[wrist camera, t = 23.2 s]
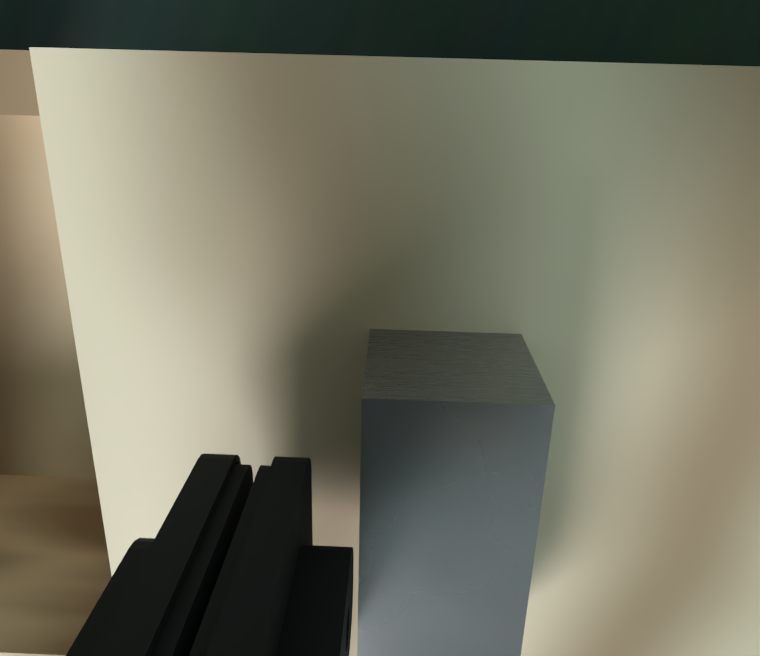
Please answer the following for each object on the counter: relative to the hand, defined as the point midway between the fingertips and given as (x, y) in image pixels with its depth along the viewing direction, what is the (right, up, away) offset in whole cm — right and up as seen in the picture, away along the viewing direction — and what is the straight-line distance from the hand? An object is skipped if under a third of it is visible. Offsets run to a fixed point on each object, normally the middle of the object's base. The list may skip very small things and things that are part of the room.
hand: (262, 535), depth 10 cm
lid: (+7, +1, +2) cm, 7 cm away
